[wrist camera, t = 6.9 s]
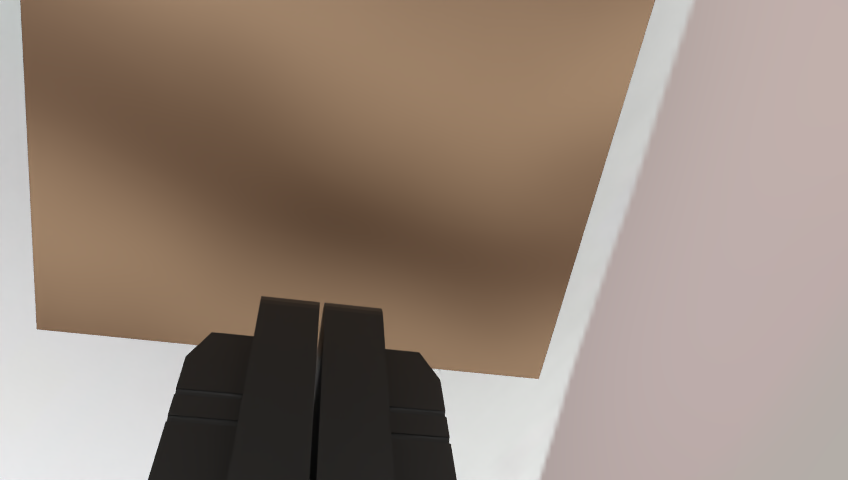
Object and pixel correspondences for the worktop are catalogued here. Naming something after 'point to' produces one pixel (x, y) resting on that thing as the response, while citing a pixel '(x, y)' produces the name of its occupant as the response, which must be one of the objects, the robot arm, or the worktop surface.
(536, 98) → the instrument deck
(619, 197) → the worktop surface
